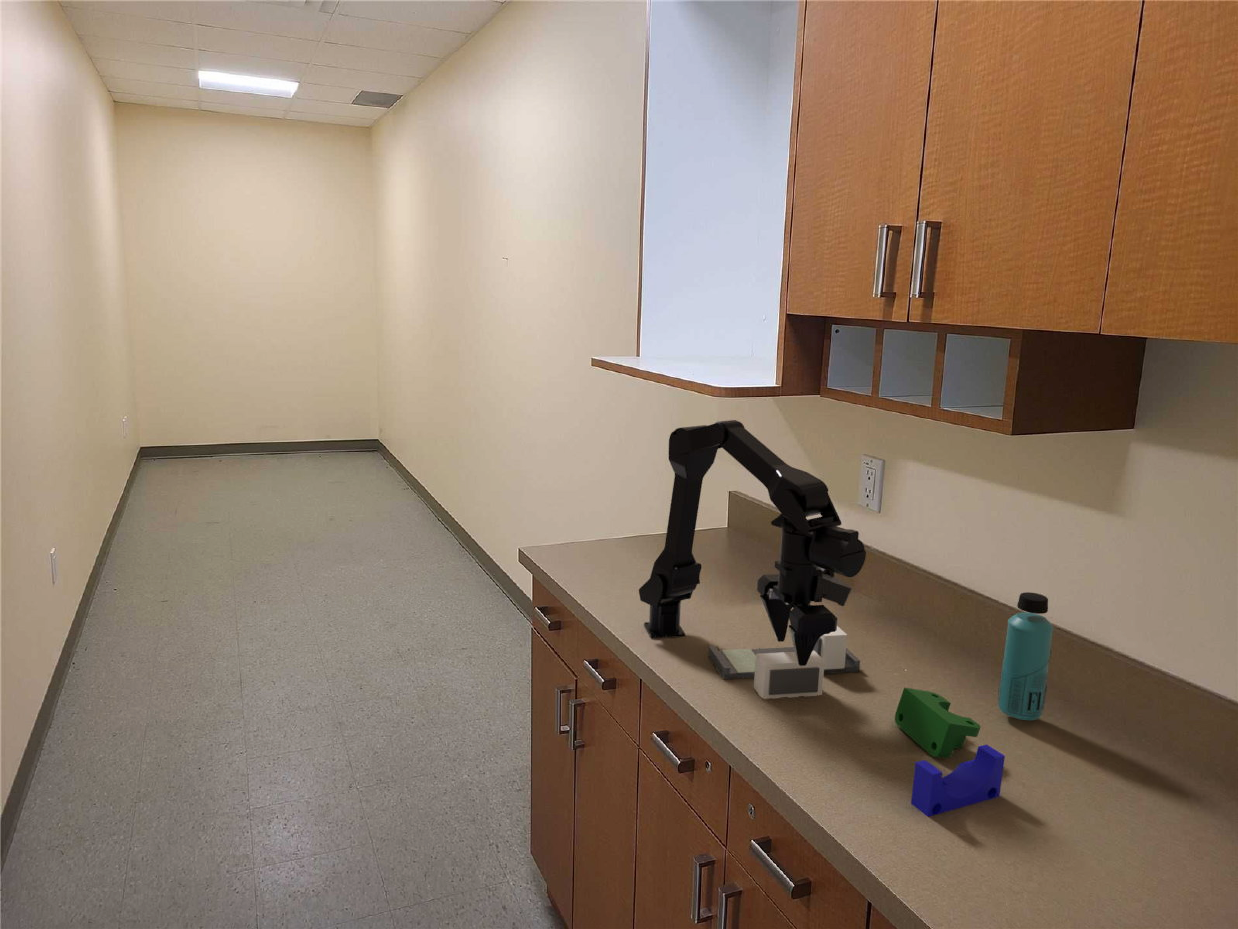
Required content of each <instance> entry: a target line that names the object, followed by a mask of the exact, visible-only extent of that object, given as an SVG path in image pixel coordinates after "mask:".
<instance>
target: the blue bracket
mask: <svg viewBox="0 0 1238 929" xmlns="http://www.w3.org/2000/svg"><path fill="white" fill-rule="evenodd" d="M1005 759H1006V755H1005V754H1003V753H1001V752H1000V751H999V750H997V749H995V748H993V747H992V746H989V745H988V744H984V745H979V746H977V750H976V753H975V757H974V759H972V760H968V761H964V762H960V763H959V764H958V765H957V767H956V768H955V769H954V770H953V771H952V772H950V773H949V774H947V775H945V776H944V777H943V771H942V770H940V769H939V768H937V767H935V766H934V765H933V764H931V763H930V762H929V761H927V760H925V759H923V760H920V761H919V760H918V761H916V762H915V765H914V775H913V784H912V792H911V793H912V794H911V799H910V800H911V801H910V802H911V803H910V804H911V805H912V806H913V807H914V808H916V809H917V810H918V811H920V812H921V813H922V814H923V815H924V816H926V817H928V818H929V817H932V816H935V815H940V814H943V813H947V812H950V811H953V810H957V809H961V808H964V807H968V806H972V805H974V804H975V805H976V804H978V803H981V802H985V801H989V800H992V799H996V798H999V797H1001V796H1000V795H1001V787H1002V780H1003V774H1004V773H1003V772H1004V765H1005Z"/></svg>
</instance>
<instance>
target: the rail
mask: <svg viewBox="0 0 1238 929" xmlns="http://www.w3.org/2000/svg"><path fill="white" fill-rule="evenodd" d="M781 652H795V649H794V646H787V647H786V646H785V647H768V648H766V647H765V648H737V649H736V648H735V649H722V650H718V649H717V648H716V646H715V645H708V653H707V654H708V657H707V658H708V659H709V660H710V662H711V663H712V665H713V666H714V667H715V669H716V670H717V672H718V674H719V675H720V676H721V678H722V680H735V679H734V678H740V679H754V677H755V662H756V654H761V653H781ZM860 664H861V659H859V658H858V657H857V655H855V654H854V653H852V651H850V650H849V648H847V647H846V656H845V667H844V668H841V669H824V675H827V674H837V673H838V674H839V673H840V674H841V673H843V674H844V673H855V672H856V673H859V672H860V666H861V665H860Z"/></svg>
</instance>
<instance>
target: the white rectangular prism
mask: <svg viewBox="0 0 1238 929" xmlns="http://www.w3.org/2000/svg"><path fill="white" fill-rule="evenodd" d="M824 662H825V661H824V660H823V659H822V658H821V657H820V656H819V655H818V654H817V653H816V652H815V651H812V653H811V655H810V658H809V660H808V662H807V664H806V665H805V666H800V665H799V664H798V660H797V657H796V653H795V652H781V653H761V654H756V662H755V677H754V678H753V679H754V680H753V681H754V682H753V689H754V688H755V689H756V690H755V689H754V690H755V691H756V693H757V692H758V693H759V694H758V693H757V694H758V696H759V697H760V696H761V697H762V698H772V699H782V698H781V697H788V698H800V697H799V696H804V697H817V695H818V697H819V695H821V696H822V695H823V686H824V685H823V684H824V675H825V674H824ZM761 697H760V698H761ZM779 697H780V698H779ZM762 698H761V699H762Z"/></svg>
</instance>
